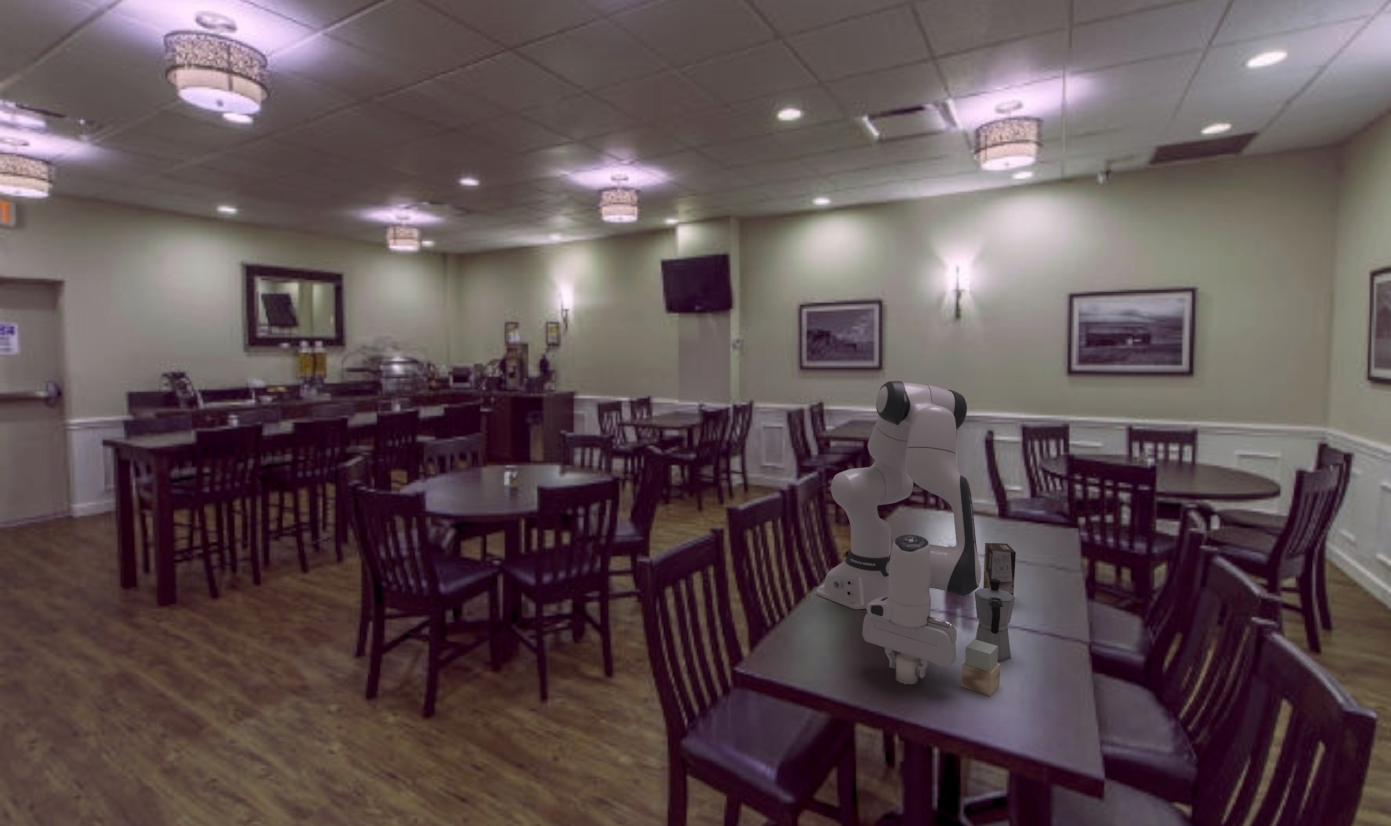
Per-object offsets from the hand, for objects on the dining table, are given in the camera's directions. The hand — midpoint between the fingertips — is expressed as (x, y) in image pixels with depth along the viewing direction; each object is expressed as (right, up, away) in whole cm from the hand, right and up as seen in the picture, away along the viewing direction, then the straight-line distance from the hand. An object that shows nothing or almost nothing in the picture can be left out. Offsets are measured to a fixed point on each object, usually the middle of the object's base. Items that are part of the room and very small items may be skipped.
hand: (906, 671), depth 145 cm
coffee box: (+41, +2, +45) cm, 61 cm away
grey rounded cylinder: (0, -2, 0) cm, 2 cm away
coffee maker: (+24, -1, +12) cm, 27 cm away
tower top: (+15, +3, -3) cm, 16 cm away
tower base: (+15, -2, -3) cm, 15 cm away
